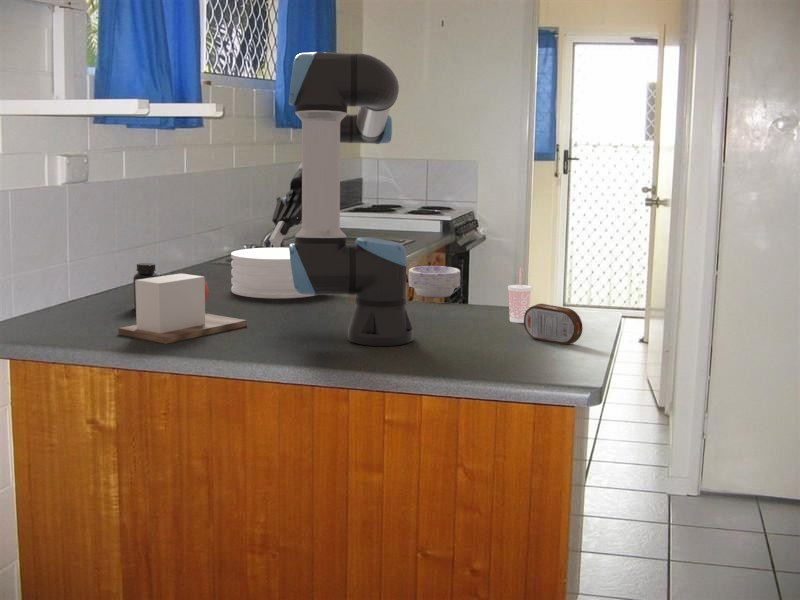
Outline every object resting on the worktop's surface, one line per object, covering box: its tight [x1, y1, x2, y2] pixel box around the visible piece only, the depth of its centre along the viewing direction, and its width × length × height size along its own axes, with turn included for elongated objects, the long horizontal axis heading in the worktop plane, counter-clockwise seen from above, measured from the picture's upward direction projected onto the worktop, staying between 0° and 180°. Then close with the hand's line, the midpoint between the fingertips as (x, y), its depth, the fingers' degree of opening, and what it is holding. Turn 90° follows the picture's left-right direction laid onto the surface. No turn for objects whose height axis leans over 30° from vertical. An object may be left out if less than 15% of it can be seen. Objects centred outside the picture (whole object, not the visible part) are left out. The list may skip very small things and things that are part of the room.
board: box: [117, 312, 248, 345], centre depth 236 cm, size 26×16×2 cm, turn 145°
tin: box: [523, 303, 583, 345], centre depth 230 cm, size 15×3×8 cm, turn 47°
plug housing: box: [135, 273, 206, 333], centre depth 232 cm, size 14×8×12 cm, turn 145°
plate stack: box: [230, 247, 315, 299], centre depth 296 cm, size 28×28×12 cm
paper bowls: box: [408, 265, 461, 299], centre depth 291 cm, size 15×15×8 cm
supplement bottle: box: [132, 262, 160, 310], centre depth 263 cm, size 7×7×12 cm
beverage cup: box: [507, 266, 533, 324], centre depth 254 cm, size 6×6×14 cm
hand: (273, 243), depth 249 cm, fingers closed
